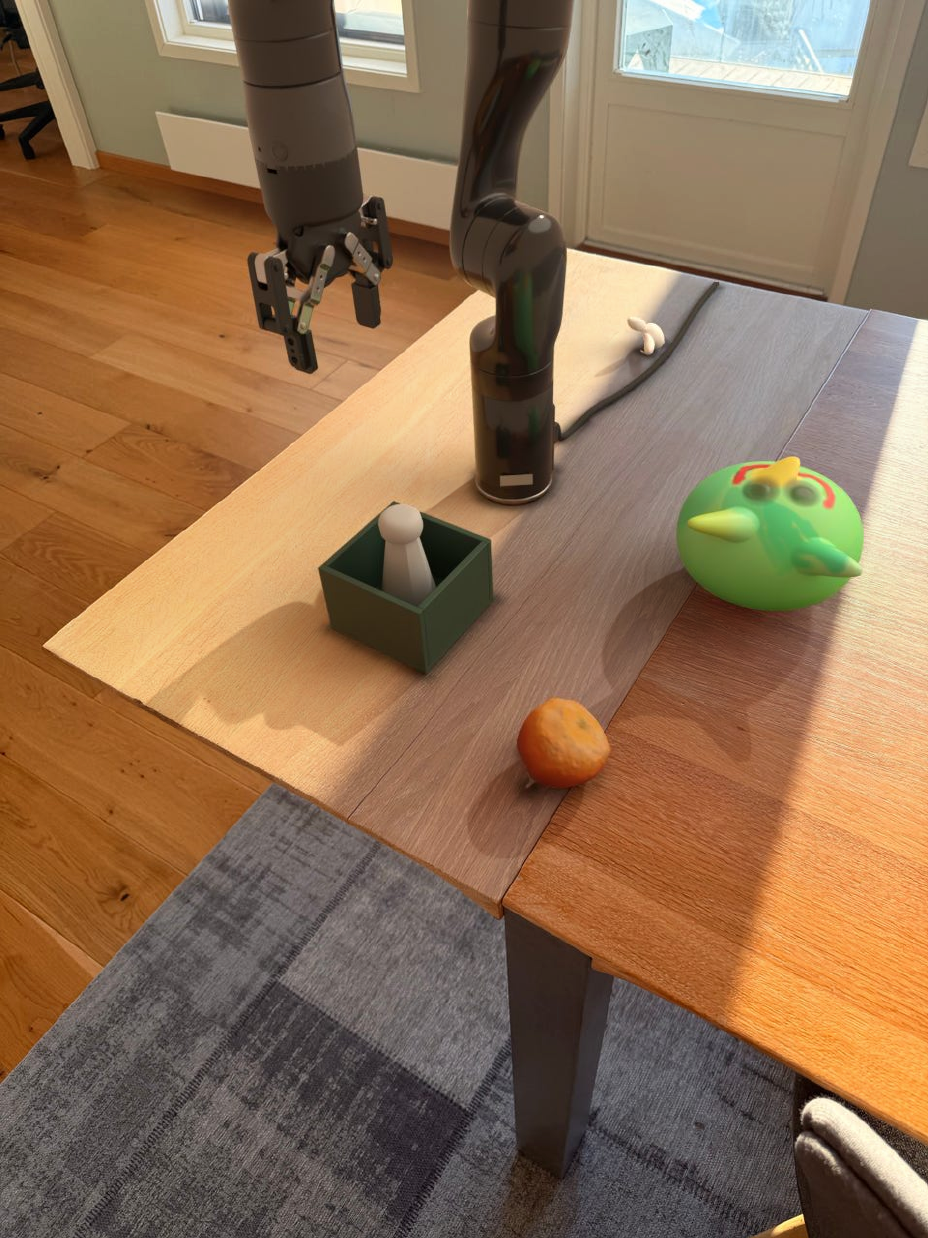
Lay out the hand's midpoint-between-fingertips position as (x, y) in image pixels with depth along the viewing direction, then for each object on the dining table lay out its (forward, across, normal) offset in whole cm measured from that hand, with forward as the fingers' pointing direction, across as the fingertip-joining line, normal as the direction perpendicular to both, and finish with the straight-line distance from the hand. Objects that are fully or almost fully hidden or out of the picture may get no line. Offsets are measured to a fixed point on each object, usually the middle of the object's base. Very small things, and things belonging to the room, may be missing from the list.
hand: (338, 347), depth 77 cm
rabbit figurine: (+30, -61, +2) cm, 68 cm away
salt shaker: (+29, 0, +5) cm, 30 cm away
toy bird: (+30, -21, +34) cm, 50 cm away
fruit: (+30, +9, +28) cm, 42 cm away
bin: (+30, 0, +5) cm, 30 cm away
